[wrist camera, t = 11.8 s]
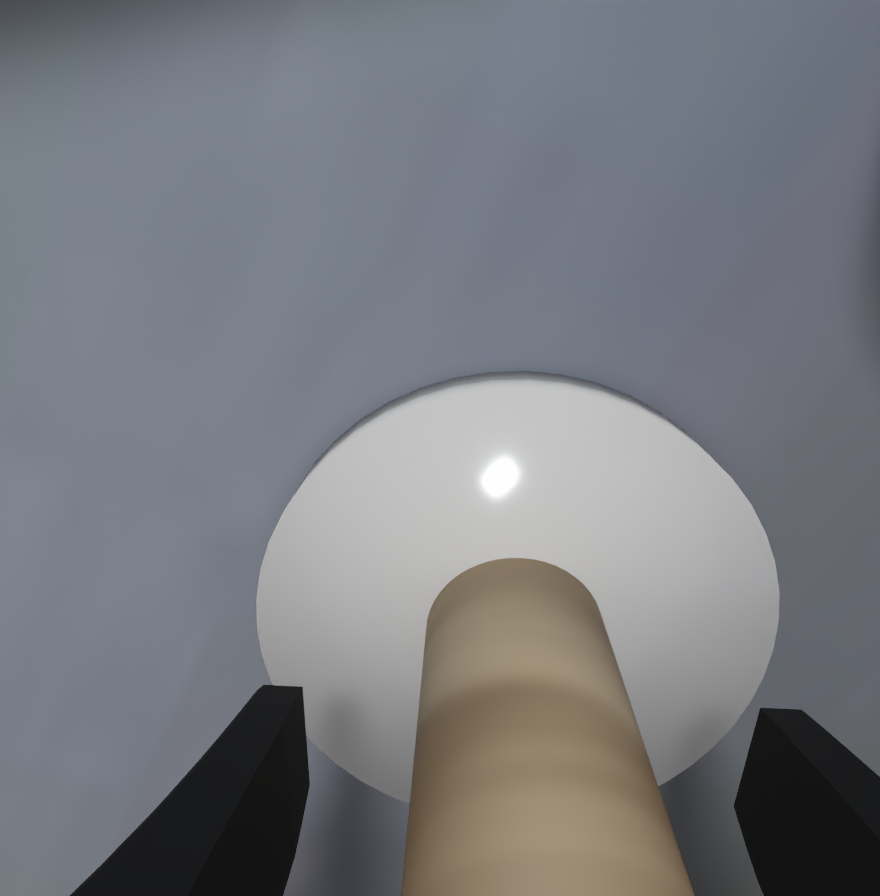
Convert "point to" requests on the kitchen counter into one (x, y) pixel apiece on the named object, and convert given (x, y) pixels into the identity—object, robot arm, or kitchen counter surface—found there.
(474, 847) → the peg
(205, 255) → the kitchen counter surface
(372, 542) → the white glossy domed part
